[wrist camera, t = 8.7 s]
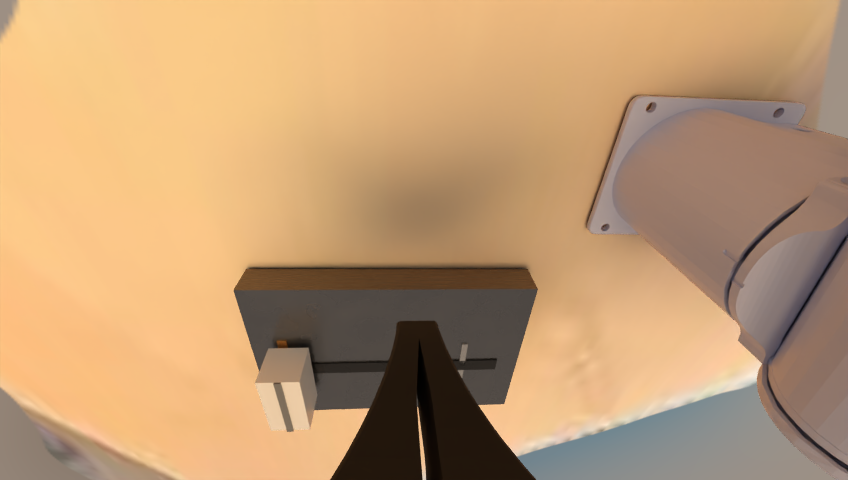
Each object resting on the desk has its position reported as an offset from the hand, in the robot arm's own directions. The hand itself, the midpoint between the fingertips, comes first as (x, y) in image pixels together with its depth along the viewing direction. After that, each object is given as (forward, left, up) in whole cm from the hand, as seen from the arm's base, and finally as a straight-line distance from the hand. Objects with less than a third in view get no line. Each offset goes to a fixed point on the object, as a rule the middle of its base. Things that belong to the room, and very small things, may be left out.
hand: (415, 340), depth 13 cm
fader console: (+1, +10, -9) cm, 14 cm away
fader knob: (+7, +11, -7) cm, 15 cm away
